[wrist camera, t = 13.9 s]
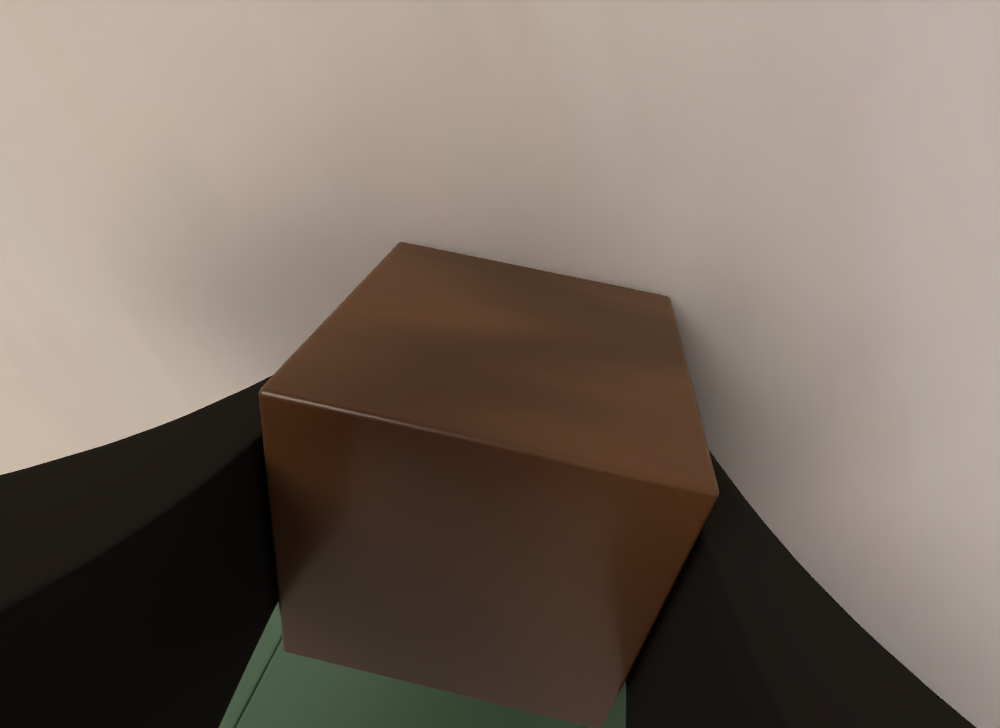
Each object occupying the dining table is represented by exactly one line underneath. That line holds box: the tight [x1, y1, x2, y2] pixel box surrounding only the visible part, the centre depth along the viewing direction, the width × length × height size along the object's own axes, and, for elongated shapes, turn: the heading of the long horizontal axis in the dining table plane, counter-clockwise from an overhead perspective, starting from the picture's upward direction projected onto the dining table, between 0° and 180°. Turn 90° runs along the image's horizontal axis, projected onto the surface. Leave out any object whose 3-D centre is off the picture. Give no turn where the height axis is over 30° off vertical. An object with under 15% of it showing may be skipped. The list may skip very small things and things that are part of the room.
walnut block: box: [258, 242, 719, 728], centre depth 9 cm, size 5×5×5 cm
